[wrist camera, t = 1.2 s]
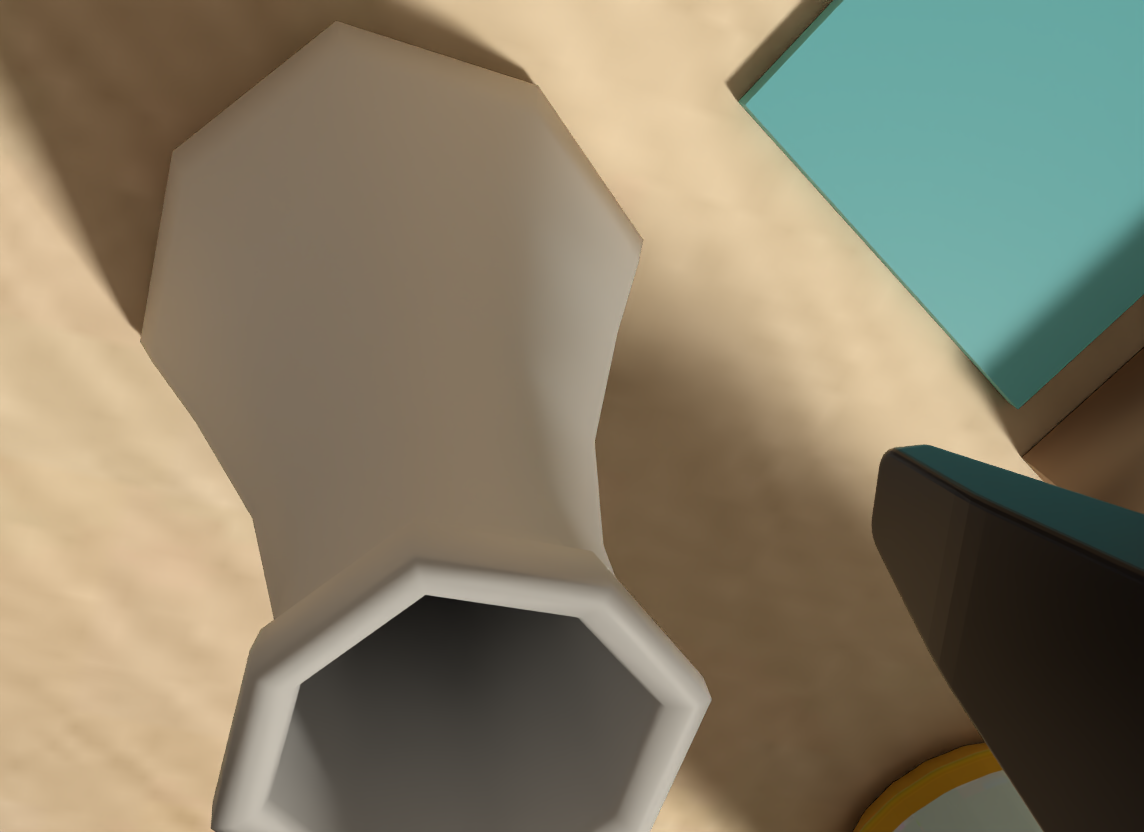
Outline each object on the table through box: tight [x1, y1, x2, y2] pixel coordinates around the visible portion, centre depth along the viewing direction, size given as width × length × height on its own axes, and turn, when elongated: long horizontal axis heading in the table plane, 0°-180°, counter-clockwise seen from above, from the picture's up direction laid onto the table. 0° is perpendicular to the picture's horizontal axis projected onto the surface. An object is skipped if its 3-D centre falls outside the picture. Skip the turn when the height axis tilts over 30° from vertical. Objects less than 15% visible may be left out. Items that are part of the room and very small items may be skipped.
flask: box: [140, 21, 712, 832], centre depth 11 cm, size 7×7×10 cm
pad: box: [738, 0, 1144, 409], centre depth 16 cm, size 8×8×1 cm
